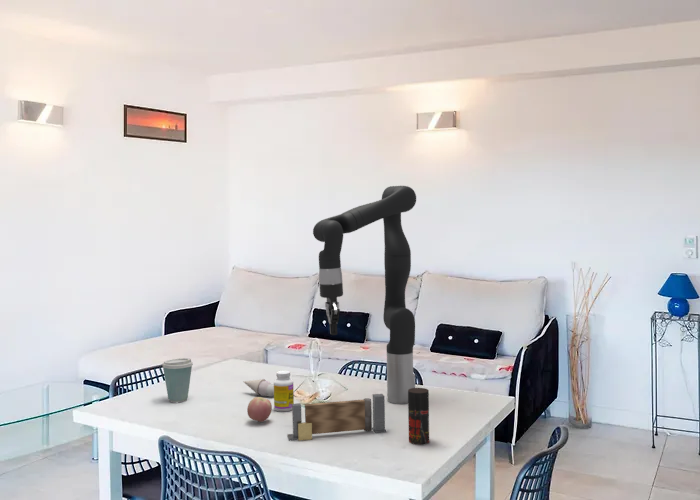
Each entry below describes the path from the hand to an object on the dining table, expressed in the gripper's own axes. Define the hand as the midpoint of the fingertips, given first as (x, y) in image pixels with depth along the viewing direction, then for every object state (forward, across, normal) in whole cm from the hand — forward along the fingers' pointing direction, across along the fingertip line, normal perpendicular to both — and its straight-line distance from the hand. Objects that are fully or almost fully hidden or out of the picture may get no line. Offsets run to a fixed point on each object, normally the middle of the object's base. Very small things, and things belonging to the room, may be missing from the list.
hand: (333, 334), depth 222 cm
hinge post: (+27, +18, +9) cm, 34 cm away
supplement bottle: (+27, -12, -16) cm, 33 cm away
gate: (+26, +18, -3) cm, 32 cm away
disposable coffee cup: (+25, -34, -52) cm, 67 cm away
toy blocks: (+26, +18, -16) cm, 36 cm away
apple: (+26, 0, -26) cm, 37 cm away
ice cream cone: (+26, -32, -23) cm, 48 cm away
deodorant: (+28, +31, +18) cm, 45 cm away
